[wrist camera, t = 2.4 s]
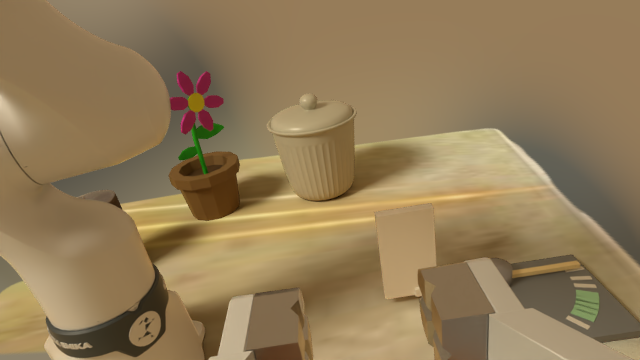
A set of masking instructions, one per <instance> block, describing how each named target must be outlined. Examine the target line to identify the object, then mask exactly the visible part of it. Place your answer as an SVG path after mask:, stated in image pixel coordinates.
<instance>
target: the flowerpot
mask: <svg viewBox="0 0 640 360" xmlns="http://www.w3.org/2000/svg"><path fill="white" fill-rule="evenodd" d="M177 82H178V85H179V87H180V88H181V90H182V92H184V93H185V94H187V95H189V97H188V100H186V99H185V98H183V97H172V98H170V104H171V110H184V109H185V108H186V107H187V106H188V107H189V109H190V110H189V111H188V112H187V113H185V114H184V116H183V119H182V121H181V132H182V133H184V134H187V133H188V132H189V131H190V130H192V136H193V141H194V144H195V147H189V148H187V149H185V150H184V151H182V153H181V155H180V156H179V157H178V158H179V160H185V161H183V162H181V163H180V164H178V165H177V166H175V167H173V168H172V170H171V172H170V174H169V178H170V181H171V184H172V185H173V186H174V187H175V188H176V189H178V190H181V192H182V194H183V196H184V198H185V200H186V202H187V204H188V206H189V208H190V210H191V212H192V214H193V216H194V217H196V218H197V219H198V220H206V221H209V220H214V219H219V218H222V217H224V216H226V215H228V214H231V213H232V212H234V211H235V210H236V209H237V208H238V207H239V202H240V199H239V192H238V184H237V177H236V173H237V172H238V171H239V166H240V164H239V160H238V157H237V155H235V154H233V153H231V152H212V153H207V154H202V151H201V147H200V144H199V141H198V139H208V138H210V137H212V136H214V135H216V134H217V133H219V132H220V131H221V130H222V129H223V128H224V127H223V126H222V125H219V124H215V123H213V120H212V118H211V116H210V114H209V113H208V112H207V111H205V110H203V107H204V105H205V106H207V107H208V108H214V107H219V106H220V105H222V104H223V98H221V97H219V96H217V95H216V96H215V95H214V96H207V97H206V98H205V99H203V97H202V95H203V94H204V93H206V92H207V91H208V88H209V86H210V83H211V80H210V73H208V72H207V71H206V72H205V73H204V74H202V75H201V76H200V77H199V80H198V82H197V85H196V88H197V93H194V92H193V91H194V90H193V84H192V82H191V80H190V79H189V77H188V76H187V75H185V74H184V73H183V72H181V71H180V72H179V73H177ZM195 112H198V119H199V121H200V122H201V124H202V125H201V126H200V127H198V128H197V129H196V126H195V120H196V117H195ZM197 153H198V156H195V155H196V154H197ZM194 156H195V157H194Z"/></svg>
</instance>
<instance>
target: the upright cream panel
mask: <svg viewBox="0 0 640 360" xmlns="http://www.w3.org/2000/svg"><path fill="white" fill-rule="evenodd" d="M374 213H375V222H376V230H377V238H378V247H379V255H380V263H381V272H382V280H383V288H384V295H385V299H392V298H398V297H405V296H411V295H416V297H419V296H422V293H421V291H420V288H419V285H418V276H417V274H418V269H422V268H428V267H434V266H436V246H435V225H434V208H433V206H432V204H431V203H428V204H422V205H415V206H409V207H403V208H397V209H391V210H384V211H378V212H374ZM489 259H491V260H492V262H493V263H494V265H495V266H496V268H497V269H498V270H499V272H500V273H501V275H502V276H503V278H504V279H505V281H506V282H507V283H508V285H509V286H510V285H511V284H512V278H517V277H524V276H530V275H536V274H543V273H549V272H556V271H562V270H569V269H575V268H580V263H579V262H578V261H570V262H564V263H557V264H551V265H545V266H538V267H532V268H525V269H519V270H513V268H512V266H511V264H510V263H509V262H507V261H505V260H503V259H499V258H489Z"/></svg>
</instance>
